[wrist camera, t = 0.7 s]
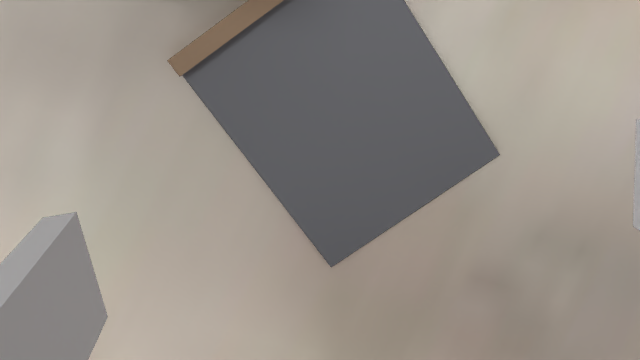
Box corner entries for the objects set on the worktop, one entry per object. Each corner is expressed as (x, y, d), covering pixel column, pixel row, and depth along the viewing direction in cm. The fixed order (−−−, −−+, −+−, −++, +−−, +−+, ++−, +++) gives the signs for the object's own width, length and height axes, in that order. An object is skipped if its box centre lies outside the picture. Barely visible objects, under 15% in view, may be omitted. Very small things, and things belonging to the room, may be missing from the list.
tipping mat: (170, 58, 38) (167, 60, 37) (354, -78, 37) (356, -81, 35) (330, 265, 43) (332, 272, 42) (498, 153, 42) (504, 158, 40)
